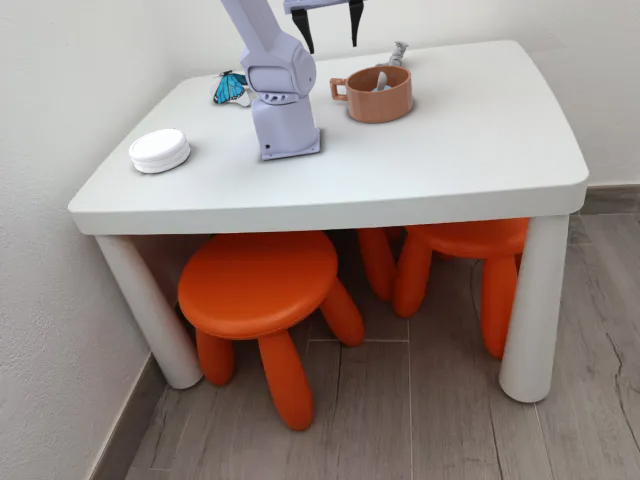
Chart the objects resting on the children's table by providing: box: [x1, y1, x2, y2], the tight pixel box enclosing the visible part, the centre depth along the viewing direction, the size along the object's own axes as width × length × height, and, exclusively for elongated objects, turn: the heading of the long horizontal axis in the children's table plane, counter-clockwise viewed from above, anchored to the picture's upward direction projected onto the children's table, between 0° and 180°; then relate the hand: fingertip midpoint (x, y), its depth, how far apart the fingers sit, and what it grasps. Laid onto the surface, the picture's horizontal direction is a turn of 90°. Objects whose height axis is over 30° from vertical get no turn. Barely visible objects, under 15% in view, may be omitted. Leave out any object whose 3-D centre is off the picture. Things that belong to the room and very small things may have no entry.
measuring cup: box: [329, 65, 414, 124], centre depth 90 cm, size 15×11×6 cm
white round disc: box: [128, 128, 191, 174], centre depth 88 cm, size 10×10×4 cm
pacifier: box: [371, 72, 391, 92], centre depth 88 cm, size 7×6×6 cm
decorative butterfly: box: [209, 68, 250, 107], centre depth 104 cm, size 10×6×10 cm
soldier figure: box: [375, 40, 410, 67], centre depth 101 cm, size 8×5×12 cm
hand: (333, 48), depth 91 cm, fingers open, 7 cm apart
